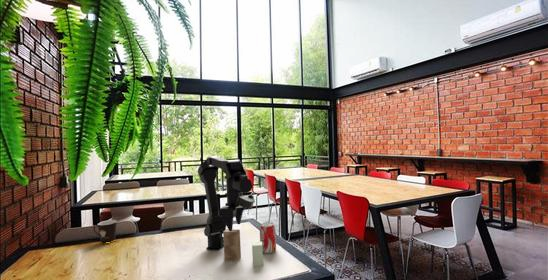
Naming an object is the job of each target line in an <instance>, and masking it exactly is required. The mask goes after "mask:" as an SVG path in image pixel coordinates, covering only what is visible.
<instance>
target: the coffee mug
mask: <svg viewBox="0 0 548 280" xmlns="http://www.w3.org/2000/svg"><path fill="white" fill-rule="evenodd" d="M117 223H118V222H117V220H106V221H101V222H99V223H97V225H96V224H95V225H93V229H92V230H93V232H94V233H95V234H96V235H98V236H99V238H100V240H99V241H100V243H101V242H102V243H106V242H111V241H113V240H115V241H116V235H117V234H116V233H117ZM96 227H97V228H98V232H97V230H96V229H95V228H96Z"/></svg>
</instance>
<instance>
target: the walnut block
mask: <svg viewBox="0 0 548 280" xmlns="http://www.w3.org/2000/svg"><path fill="white" fill-rule="evenodd" d="M222 237H223V240H224V246H223V259H224V261H227V262H239V261H240V260H241V259H242V254H241V253H242V251H241V248H242V247H241V231H240V229H235V228H232V231H229V229H228V228H226V230H225V231H223V234H222Z"/></svg>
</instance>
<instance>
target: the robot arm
mask: <svg viewBox="0 0 548 280" xmlns="http://www.w3.org/2000/svg"><path fill="white" fill-rule="evenodd" d="M220 169H221V171H222V173H223V174H225V175H224V177H223V178H224V179H225V181H226V184H225V185H226V193H224V196H225V197H226V202H225V205H224V206H222V207H220V206H219V201H218V195H217V189H216V184H215V183H216V179H217V177H218V176H217V172H218V171H219V170H220ZM197 175H198V176H199V179H200V181H201V182H202V183H203V185H204V191H205V196H206V203H207V210H208V217H207V219H206V226H205V227H204V229H203V233H204V236H205V237H207V247H205V249H206V250H211V251H212V250H213V251H219V250H221V249H222V248H224V239H223V231H225V230H226V229H229V231H232V229H234V228H233V225H234V218H235V220H236V224H237V225H241V221H242V218H243V213H244V211H245V210H246V209H247V210H251V209H252V208H253V206H254V204H255V202H256V200H255V197H254V195H253V194H252V193H251V194H249V195H243V194H248V193H250V192H251V191H252V189H253V182H252V180H251V179H249V177H248V174H247V171H246V169H245V167H244V166H243V163H242V161H241V160H240V159H230V160H229V159H225V158H223V157H219V156H217V155H214V156H208V157H207V158H206V159H205V160H204V161H202V162H201V163H200V165H199V167H198V168H197ZM219 207H220V208H219Z"/></svg>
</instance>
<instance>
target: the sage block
mask: <svg viewBox="0 0 548 280" xmlns="http://www.w3.org/2000/svg"><path fill="white" fill-rule="evenodd" d="M251 247H252V248H251V249H252V250H251V252H252V267H259V266H261V267H262V266H264V259H263V257H264V256H263V253H264V252H262V242H260V241H253V242H252V243H251Z"/></svg>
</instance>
